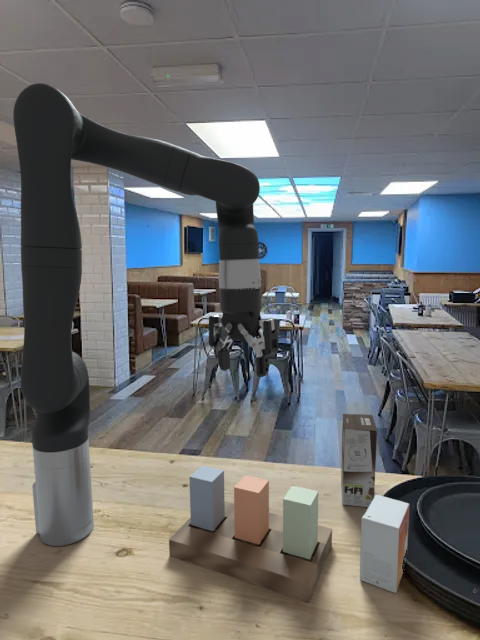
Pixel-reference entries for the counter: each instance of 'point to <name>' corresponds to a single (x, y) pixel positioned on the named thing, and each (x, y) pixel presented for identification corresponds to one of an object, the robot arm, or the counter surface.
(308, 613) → the counter surface
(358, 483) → the coffee box
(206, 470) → the slate block
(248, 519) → the terracotta block
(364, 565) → the small box
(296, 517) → the sage block
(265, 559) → the walnut board
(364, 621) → the counter surface
